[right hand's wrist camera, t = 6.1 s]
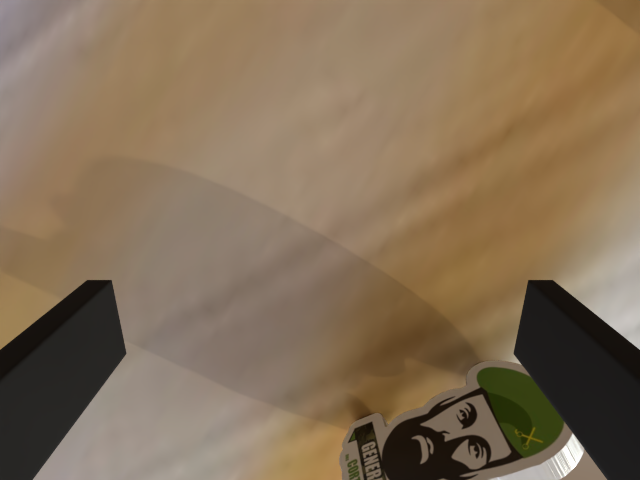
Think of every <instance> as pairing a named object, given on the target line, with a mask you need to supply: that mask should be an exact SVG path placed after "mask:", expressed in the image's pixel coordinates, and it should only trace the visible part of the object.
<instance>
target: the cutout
mask: <svg viewBox="0 0 640 480" xmlns="http://www.w3.org/2000/svg"><path fill="white" fill-rule="evenodd" d="M342 448H343V450H342V452H341V454H340V458H339V464H340V467H341V471H342V480H559V479H561V478H562V477H564V476H566V475H567V474H568V473H569V472H570V471H571V470H572V469H573V468H574V467H575V466H576V465H577V463H578V462H579V460H580V458H581V457H582V454H583V451H584V448H583V446H582V445H581V444H580V442H579V441H578V439H577V438H576V437H575V435H574V434H573V433H572V431H571V430H570V429H569V427H568V426H567V425H566V423H565V422H564V421H563V419H562V418H561V417H560V415H559V414H558V413H557V411H556V410H555V409H554V407H553V406H552V405H551V403H550V402H549V401H548V399H547V398H546V396H545V395H544V394H543V392H542V391H541V390H540V388H539V387H538V386H537V384H536V383H535V382H534V380H533V379H532V378H531V376H530V375H529V374H528V372H527V371H526V370H525V368H524V367H523V366H522V365H520V364H517V363H512V362H507V361H499V360H498V361H485V362H481V363H479V364H477V365H475V366H473V367H472V368H471V369H470V370H469V371H468V373H467V375H466V386H464V387H462V388H458V389H450V390H448V391H445V392H442V393H440V394H439V395H436V396H435V397H433V398H432V399H430V400H429V401H428V402H427V403H426V404H425V405H424V406H423V407H420V408H417V409H414V410H410V411H407V412H404V413H402V414H401V415H399V416H397V417H396V418H394V419H393V420H392V421H391V422H390V423H389V424H388V423H387V422H386V420H385V419H384V417H383V416H382V415H381V414H379V413H374V414H372V415H369V416H367V417H364V418H362V419H359V420H357V421H355V422H354V423H352V425H351V426H350V428H349V431H348V433H347V435H346V436H345V439H344V440H343V443H342Z"/></svg>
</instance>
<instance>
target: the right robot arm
mask: <svg viewBox="0 0 640 480" xmlns="http://www.w3.org/2000/svg"><path fill="white" fill-rule="evenodd" d="M125 355H126V349H125V344H124V339H123V334H122V329H121V324H120V320H119V315H118V310H117V305H116V300H115V295H114V290H113V285H112V280H87V281H86V282H84V283H83V284H82V285H81V286H79V287H78V288H77V289H76V290H74V291H73V292H72V293H71V294H69V295H68V296H67V297H66V298H64V299H63V300H62V301H61V302H59V303H58V304H57V305H56V306H54V307H53V308H52V309H51V310H49V311H48V312H47V313H46V314H44V315H43V316H42V317H41V318H39V319H38V320H37V321H36V322H35V323H33V324H32V325H31V326H30V327H28V328H27V329H26V330H25V331H23V332H22V333H21V334H20V335H18V336H17V337H16V338H15V339H13V340H12V341H11V342H10V343H8V344H7V345H6V346H5V347H3V348H2V349H1V350H0V480H33V478H34V477H35V476H36V474H37V473H38V472H39V470H40V469H41V468H42V466H43V465H44V464H45V462H46V461H47V460H48V458H49V457H50V456H51V454H52V453H53V452H54V450H55V449H56V448H57V446H58V445H59V444H60V442H61V441H62V439H63V438H64V437H65V435H66V434H67V433H68V431H69V430H70V429H71V427H72V426H73V425H74V423H75V422H76V421H77V419H78V418H79V417H80V415H81V414H82V413H83V411H84V410H85V409H86V407H87V406H88V405H89V403H90V402H91V401H92V399H93V398H94V396H95V395H96V394H97V392H98V391H99V390H100V388H101V387H102V386H103V384H104V383H105V382H106V380H107V379H108V378H109V376H110V375H111V374H112V372H113V371H114V370H115V368H116V367H117V366H118V364H119V363H120V362H121V360H122V359H123V358H124V356H125ZM514 355H515V356H516V358H517V359H518V360H519V362H520V363H521V364H522V366H523V367H524V368H525V370H526V371H527V372H528V374H529V375H530V376H531V378H532V379H533V380H534V382H535V383H536V384H537V386H538V387H539V388H540V390H541V391H542V392H543V394H544V395H545V396H546V398H547V399H548V401H549V402H550V403H551V405H552V406H553V407H554V409H555V410H556V411H557V413H558V414H559V415H560V417H561V418H562V419H563V421H564V422H565V423H566V425H567V426H568V427H569V429H570V430H571V431H572V433H573V434H574V435H575V437H576V438H577V439H578V441H579V442H580V444H581V445H582V446H583V448H584V449H585V450H586V452H587V453H588V454H589V456H590V457H591V458H592V460H593V461H594V462H595V464H596V465H597V466H598V468H599V469H600V470H601V472H602V473H603V474H604V476H605V477H606V478H607V480H640V350H639V349H638V348H637V347H635V346H634V345H633V344H632V343H630V342H629V341H628V340H627V339H625V338H624V337H623V336H622V335H620V334H619V333H618V332H617V331H615V330H614V329H613V328H612V327H610V326H609V325H608V324H607V323H605V322H604V321H603V320H602V319H601V318H599V317H598V316H597V315H596V314H594V313H593V312H592V311H591V310H589V309H588V308H587V307H586V306H584V305H583V304H582V303H581V302H579V301H578V300H577V299H576V298H574V297H573V296H572V295H571V294H569V293H568V292H567V291H566V290H564V289H563V288H562V287H561V286H559V285H558V284H557V283H556V282H554V281H553V280H528V285H527V290H526V295H525V300H524V305H523V310H522V315H521V320H520V324H519V329H518V334H517V339H516V344H515V349H514Z"/></svg>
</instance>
